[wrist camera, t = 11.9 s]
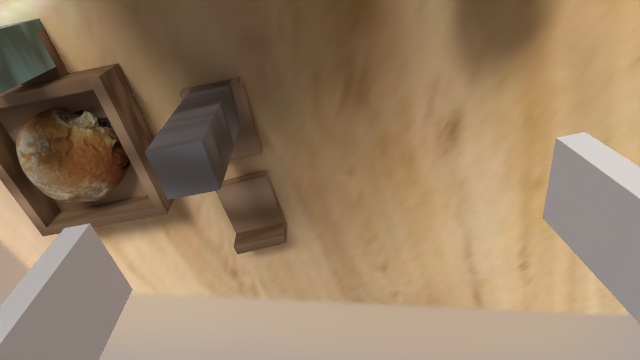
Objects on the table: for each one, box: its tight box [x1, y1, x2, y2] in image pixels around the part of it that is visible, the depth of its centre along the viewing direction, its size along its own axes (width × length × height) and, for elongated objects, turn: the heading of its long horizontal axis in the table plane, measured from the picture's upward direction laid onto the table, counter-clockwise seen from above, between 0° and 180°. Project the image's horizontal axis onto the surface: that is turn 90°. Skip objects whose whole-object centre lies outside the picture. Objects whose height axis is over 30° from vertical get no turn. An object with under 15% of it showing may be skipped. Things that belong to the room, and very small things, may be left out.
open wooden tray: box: [0, 19, 174, 236], centre depth 33 cm, size 20×14×14 cm
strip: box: [216, 171, 287, 254], centre depth 44 cm, size 8×6×4 cm
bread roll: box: [16, 108, 131, 203], centre depth 38 cm, size 10×10×8 cm
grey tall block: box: [145, 78, 262, 200], centre depth 34 cm, size 8×6×14 cm
